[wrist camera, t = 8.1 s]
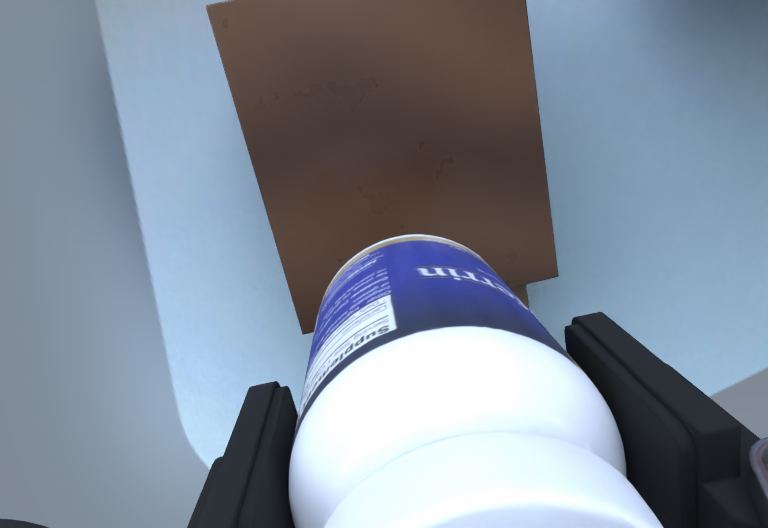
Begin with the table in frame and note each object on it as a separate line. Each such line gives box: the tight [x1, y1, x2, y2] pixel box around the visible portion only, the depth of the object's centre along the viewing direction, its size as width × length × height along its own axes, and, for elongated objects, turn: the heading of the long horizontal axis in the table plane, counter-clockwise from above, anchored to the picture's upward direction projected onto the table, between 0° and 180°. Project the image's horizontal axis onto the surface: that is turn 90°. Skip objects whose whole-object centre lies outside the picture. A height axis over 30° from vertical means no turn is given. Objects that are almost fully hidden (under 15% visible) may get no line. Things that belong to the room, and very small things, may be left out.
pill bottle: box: [289, 234, 663, 528], centre depth 10 cm, size 6×6×10 cm
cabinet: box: [206, 0, 558, 334], centre depth 26 cm, size 15×13×10 cm
